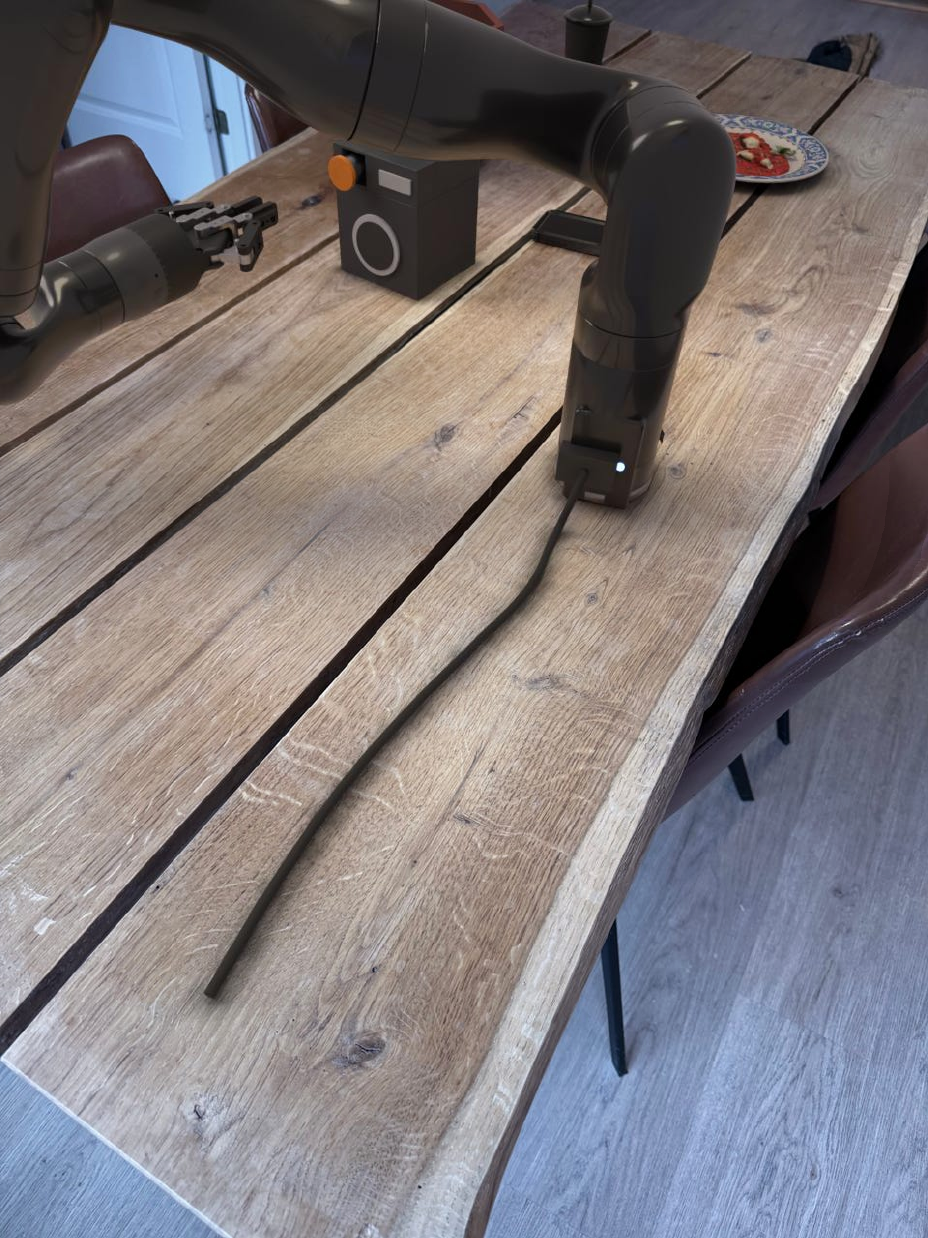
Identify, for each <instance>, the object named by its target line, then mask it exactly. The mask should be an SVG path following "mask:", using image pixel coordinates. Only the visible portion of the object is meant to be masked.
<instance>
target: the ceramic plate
mask: <svg viewBox="0 0 928 1238" xmlns="http://www.w3.org/2000/svg"><path fill="white" fill-rule="evenodd" d="M712 115H713V116H714V117H715V118H716V119H717V120H718V121H719V122H720V123H721V124H722V126H723V127H724V128H725V129H726V131H727V132H728V134H729V136H730V137H731V139H732V142H733V144H734V148H735V152H736V161H737V168H736V180H735V182H746V183H757V184H758V183H759V184H760V183H761V184H777V183H780V184H781V183H788V182H797V181H801V180H804V179H808V178H811V177H814V176H815V175H817V174H819V173H821V172H822V171H824V169H825V168H826V167H828V163H829V160H830V154H829V151H828V150H827V148H826V147H825V146H824V144H822V143H821V142H820V140H818V139H817V138H815V137H814V136H812V135H810V134H808V133H807V132H804V131H803V130H801V129H798V128H796V127H793V126H790V125H787V124H785V123H782V122H778V121H775V120H770V119H765V118H761V117H756V116H755V117H754V116H749V115H739V114H723V113H722V114H721V113H720V114H719V113H715V114H714V113H712Z"/></svg>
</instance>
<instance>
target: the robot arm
mask: <svg viewBox="0 0 928 1238" xmlns="http://www.w3.org/2000/svg"><path fill="white" fill-rule="evenodd" d="M111 26H116V27H119V28H125V29H129V30H133V31H136V32H140V33H144V34H147V35H150V36H154V37H156V38H161V39H164V40H166V41H167V40H168V41H171V42H173V43H176V44H179V45H182V46H183V47H184V46H185V47H187V48H190V49H192V50H194V51H195V52H198V53H201V54H203V55H205V56H206V57H208V58H210V59H211V60H213V61H215V62H216V63H219V64H220V65H221V66H223V67H224V68H226V69H228V70H229V71H230V72H232V74H235V75H236V76H237V77H239V78H240V79H241V80H242V81H244V82H245V83H246V84H248V85H249V86H250V87H251V88H253V89H254V90H256V91H257V92H258V93H260V94H261V95H262V96H263V97H265V98H266V99H267V100H269V101H270V102H272V103H273V104H274V105H276V106H277V107H279V108H280V109H281V110H283V111H285V112H286V113H287V114H289V115H290V116H292V117H293V118H295V119H296V120H298V121H300V122H301V123H303V124H305V125H306V126H308V127H310V128H311V129H314V130H315V131H317V132H319V133H321V134H324V135H326V136H329V137H331V138H334V139H337V140H339V139H340V140H343V141H347V142H350V143H353V144H357V145H360V146H364V147H367V148H371V149H374V150H378V151H381V152H385V153H388V154H389V153H390V154H392V155H396V156H400V157H405V158H410V159H416V160H424V161H462V160H479V159H480V160H508V161H509V160H510V161H514V162H515V161H516V162H520V163H525V164H527V165H532V166H535V167H538V168H541V169H544V170H546V171H549V172H552V173H555V174H557V175H560V176H562V177H565V178H568V179H569V180H571V181H575V182H577V183H579V184H581V185H583V186H585V187H586V188H589V189H591V190H593V191H594V192H595V193H597V194H598V195H599V196H600V197H601V199H602V200H603V202H604V203H605V205H606V207H607V208H606V215H605V220H604V221H605V227H604V233H603V238H602V244H601V249H600V254H599V256H598V258H596V259H595V260H593V261H592V262H591V263H589V265H587V267H586V268H585V269H584V271H583V272H582V276H581V280H580V284H579V290H578V298H577V299H578V300H577V307H576V315H575V321H574V329H573V335H572V340H571V347H570V354H569V362H568V369H567V374H566V375H567V376H566V383H565V390H564V398H563V405H562V411H561V418H560V424H559V425H560V426H559V431H558V432H559V433H558V440H557V441H558V442H557V447H556V453H555V455H554V463H553V473H554V481H557V482H558V483H559V485H560V486H561V487H562V489H561V495H562V496H563V497H568V498H567V500H566V502H565V504H564V506H563V509H562V511H561V512H560V515H559V517H558V519H557V520H556V523H555V525H554V527H553V529H552V531H551V534H550V535H549V538H548V539H547V542H546V545H545V547H544V550H543V552H542V553H541V554H542V555H541V557H540V559H539V561H538V564H537V566H536V567H535V570H534V572H533V573H532V575H531V577H530V578H529V580H528V581H527V583H526V584H525V586H524V587H523V588H522V589H521V591H520V592H519V593H518V595H517V596H516V597H514V599H513V600H512V601H511V603H509V604H508V606H507V607H505V608H504V609H503V611H502V612H500V614H498V615H497V617H495V618H494V619H493V620H492V621H491V622H490V623H489V624H488V625H487V626H486V627H485V628H484V629H483V630H481V632H480V633H478V634H477V635H476V636H475V637H474V639H473V640H471V641H470V642H469V644H467V645H466V647H464V649H462V650H461V651H460V652H459V653H458V654H457V655H456V656H455V657H454V658H453V659H452V660H451V661H450V662H449V663H448V664H447V665H446V666H445V667H444V668H443V669H442V670H441V671H440V672H439V673H438V674H436V675H435V677H434V678H433V679H431V681H430V682H429V683H427V685H426V686H425V687H424V688H423V689H422V690H421V691H420V692H419V693H418V694H417V695H416V696H415V697H413V699H412V700H411V701H410V702H409V703H408V704H407V705H406V706H405V708H404V709H403V710H402V711H401V712H400V713H399V714H398V715H397V716H396V717H395V718H394V719H393V720H392V721H391V722H390V723H389V725H387V727H385V729H384V730H383V731H382V732H381V733H380V734H379V735H378V737H377V738H376V739H375V740H374V741H373V742H372V743H371V744H370V746H369V747H368V748H367V749H366V750H365V751H364V752H363V753H362V755H361V756H360V758H358V760H357V761H356V762H355V763H354V765H353V766H352V767H351V768H350V769H349V770H348V771H347V773H346V774H345V775H344V777H343V778H342V779H341V780H340V781H339V783H338V784H337V786H335V788H334V789H333V791H332V792H331V793H330V794H329V796H328V797H327V799H325V801H324V802H323V804H322V805H321V807H320V808H319V809H318V810H317V812H316V813H315V815H314V816H313V817H312V819H311V820H310V822H309V823H308V824H307V825H306V827H305V829H304V830H303V831H302V833H301V835H300V836H299V837H298V838H297V840H296V842H295V843H294V845H293V846H292V848H291V849H290V851H289V852H288V854H287V855H286V857H285V858H284V860H282V862H281V864H280V866H279V867H278V869H277V870H276V871H275V873H274V875H273V876H272V878H271V879H270V881H269V882H268V884H267V886H266V887H265V889H264V890H263V892H262V893H261V895H260V897H259V898H258V900H257V901H256V903H255V905H254V906H253V908H252V910H251V911H250V913H249V914H248V916H247V918H246V919H245V921H244V923H243V925H242V926H241V928H240V930H239V931H238V933H237V935H236V937H235V938H234V940H233V941H232V943H231V945H230V947H229V949H228V950H227V952H226V954H225V955H224V957H223V959H222V960H221V962H220V964H219V966H218V967H217V969H216V970H215V972H214V974H213V975H212V977H211V979H210V980H209V982H208V984H207V985H206V987H205V989H204V991H203V995H204V996H206V997H207V998H209V999H211V1000H215V999H216V998H217V996H218V994H219V993H220V990H221V989H222V988H223V985H224V984H225V982H226V980H227V978H228V977H229V975H230V974H231V971H232V970H233V968H234V966H235V965H236V963H237V961H238V959H239V958H240V956H241V954H242V952H243V951H244V950H245V947H246V946H247V944H248V942H249V941H250V939H251V937H252V935H253V934H254V932H255V930H256V928H257V927H258V925H259V923H260V921H261V920H262V918H263V916H264V915H265V913H266V912H267V910H268V909H269V907H270V905H271V903H272V902H273V900H274V898H275V897H276V895H277V894H278V892H279V891H280V889H281V888H282V886H283V884H284V882H285V881H286V879H288V876H289V875H290V873H291V872H292V870H293V869H294V867H295V865H296V864H297V862H298V861H299V859H300V858H301V856H302V855H303V854H304V852H305V850H306V849H307V848H308V847H309V846H308V845H310V844H311V842H312V840H313V839H314V837H315V836H316V835H317V832H318V831H319V830H320V829H321V827H322V825H323V824H324V823H325V821H326V820H327V819H328V817H329V816H330V814H331V813H332V812H333V810H334V809H335V808H336V806H337V805H338V804H339V802H340V801H341V800H342V798H343V797H344V796H345V794H346V793H347V792H348V791H349V789H350V788H351V787H352V785H353V784H354V783H355V781H356V780H357V779H358V778H359V777H360V775H361V774H362V773H363V771H364V770H365V769H366V768H367V767H368V765H370V763H371V762H372V760H374V758H375V757H376V756H377V755H378V754H379V753H380V752H381V750H382V749H383V748H384V747H385V746H386V744H388V742H389V741H390V740H391V739H392V738H393V737H394V736H395V735H396V734H397V732H398V731H399V730H400V729H401V728H402V727H403V726H404V725H405V724H406V723H407V722H408V720H409V719H410V718H411V717H413V715H414V714H415V712H417V711H418V710H419V709H420V708H421V706H422V705H423V704H424V703H425V702H426V701H427V700H428V699H429V698H430V697H432V695H433V694H434V693H435V692H436V691H437V690H438V689H439V688H440V687H441V686H442V685H443V684H444V683H445V682H446V681H447V680H448V679H449V678H450V677H451V676H452V675H453V674H454V673H455V672H456V671H457V670H458V669H459V668H460V667H462V665H463V664H464V663H465V662H466V661H468V659H470V657H471V656H472V655H473V654H474V653H475V652H476V651H477V650H478V649H479V648H481V646H483V644H484V643H485V642H486V641H487V640H488V639H489V638H490V637H491V636H492V635H494V633H495V632H497V630H499V629H500V628H501V626H503V625H504V624H505V623H506V622H507V621H508V620H509V619H510V618H511V617H512V616H513V615H514V614H515V613H516V612H517V611H518V610H519V608H521V606H522V605H523V604H524V603H525V601H527V599H528V598H529V597H530V596H531V594H532V592H533V591H534V589H535V588H536V587H537V585H538V584H539V582H540V580H541V579H542V577H543V575H544V574H545V571H546V570H547V567H548V565H549V561H550V559H551V557H552V553H553V551H554V549H555V547H556V544H557V543H558V540H559V538H560V536H561V533H562V532H563V530H564V528H565V525H566V524H567V521H568V520H569V518H570V515H571V514H572V511H573V509H574V507H575V505H576V503H577V501H578V500H582V501H587V502H592V503H597V504H602V505H606V506H611V507H616V508H621V509H627V507H628V504H629V503H630V501H633V500H635V499H637V498H639V497H641V496H642V495H643V494H645V492H646V491H647V490H648V489H649V487H650V485H651V482H652V478H653V473H654V466H655V465H654V464H655V461H656V456H657V452H658V447H659V443H660V444H663V442H664V438H665V435H666V433H665V431H664V429H663V427H664V423H665V418H666V415H667V410H668V406H669V403H670V398H671V394H672V390H673V385H674V381H675V377H676V373H677V369H678V366H679V361H680V356H681V353H682V349H683V345H684V341H685V336H686V333H687V328H688V325H689V320H690V316H691V313H692V309H693V305H694V304H695V302H696V301H697V300H698V298H699V297H700V296H701V295H702V293H703V292H704V289H705V288H706V286H707V284H708V281H709V279H710V276H711V273H712V269H713V267H714V263H715V259H716V256H717V253H718V249H719V246H720V244H721V243H720V242H721V240H722V237H723V233H724V229H725V226H726V223H727V219H728V216H729V212H730V208H731V205H732V202H733V201H732V200H733V196H734V192H735V186H736V168H737V161H736V152H735V148H734V144H733V142H732V139H731V137H730V136H729V134H728V132H727V131H726V129H725V128H724V127H723V126H722V124H721V123H720V122H719V121H718V120H717V119H716V118H715V117H714V116H713V115H712V114H713V113H712V112H711V111H710V110H709V109H708V108H707V107H706V106H705V104H704V103H703V102H701V100H700V99H698V97H697V96H696V95H694V94H693V92H691V91H690V90H688V89H687V88H686V87H684V86H682V85H680V84H678V83H676V82H674V81H672V80H668V79H666V78H662V77H657V76H652V75H648V74H644V73H643V74H642V73H638V72H632V71H628V70H623V69H617V68H612V67H608V66H603V65H601V66H599V65H594V64H590V63H585V62H581V61H576V60H572V59H569V58H565V56H561V55H557V54H554V53H552V52H549V51H546V50H544V49H542V48H539V47H537V46H534V45H532V44H530V43H528V42H526V41H524V40H522V39H519V38H517V37H515V36H513V35H512V34H509V33H507V32H505V31H504V32H502V31H500V30H498V29H495V28H493V27H491V26H488V25H486V24H484V23H481V22H479V21H476V20H474V19H471V18H469V17H467V16H464V15H462V14H459V13H457V12H454V11H452V10H449V9H447V8H444V7H442V6H440V5H437V4H435V3H433V2H430V1H427V0H0V407H4V406H10V405H11V406H12V405H15V404H17V403H21V402H22V401H24V400H26V399H27V398H29V397H30V396H32V395H33V393H35V392H36V391H37V390H38V389H39V388H40V387H41V386H42V384H43V383H44V382H45V381H46V380H47V379H48V378H49V377H50V375H52V374H53V373H54V372H55V371H56V369H58V368H59V367H60V366H61V365H62V364H63V363H64V362H65V361H66V360H67V359H69V358H70V357H71V356H72V355H73V354H74V353H75V352H76V351H78V350H79V349H80V348H81V347H82V346H84V345H85V344H86V343H87V342H89V341H92V340H93V339H95V338H97V337H99V336H101V335H103V334H105V333H107V332H109V331H111V330H113V329H115V328H117V327H120V326H121V325H124V324H126V323H129V322H133V321H136V320H138V319H142V318H143V317H145V316H148V315H150V314H151V313H153V312H155V311H157V310H158V309H161V308H163V307H165V306H166V305H167V306H168V305H169V304H171V303H173V302H175V301H177V300H179V299H181V298H183V297H184V296H187V295H188V294H191V293H192V292H194V291H195V290H196V289H197V287H198V286H199V285H200V282H201V279H202V277H203V275H204V274H205V273H206V272H209V271H212V270H217V269H220V268H222V267H224V265H225V264H226V263H227V264H238V265H239V271H240V272H242V273H249V272H252V271H253V270H254V268H255V265H256V264H257V261H258V260H259V258H260V256H261V253H262V252H263V250H264V247H265V244H264V243H265V242H264V236H263V232H264V231H266V230H268V229H270V228H272V227H274V226H276V225H278V223H279V210H278V205H277V203H276V202H274V201H271V200H268V201H266V202H263V199H262V197H260V196H258V195H255V194H254V195H252V196H249V197H247V198H245V199H242V200H240V201H238V202H236V203H234V204H232V205H230V204H228V203H222V204H219V205H217V206H215V202H214V201H211V200H204V201H198V202H190V203H183V204H175V205H169V206H168V205H167V206H161V207H156V208H154V209H153V212H154V213H151V214H149V215H146V216H143V217H142V218H141V217H140V218H139V219H137V220H135V221H132V222H130V223H128V224H125V225H123V226H120V227H118V228H116V229H114V230H111V231H109V232H107V233H105V234H102V235H100V236H98V237H96V238H94V239H92V240H91V241H89V242H88V243H86V244H85V245H83V246H82V247H79V248H78V249H76V250H74V251H72V252H70V253H66V254H65V255H63V256H60V257H58V258H56V259H53V260H51V261H48V262H46V258H47V257H46V256H47V251H48V246H49V241H50V234H51V226H52V218H53V217H52V216H53V215H52V214H53V192H54V191H53V190H54V174H55V169H56V163H57V158H58V153H59V149H60V148H61V147H60V146H61V142H62V140H63V139H62V138H63V136H64V133H65V129H66V127H67V124H68V122H69V119H70V116H71V114H72V112H73V109H74V107H75V104H76V102H77V100H78V98H79V95H80V93H81V90H82V88H83V86H84V84H85V82H86V80H87V78H88V75H89V72H90V70H91V68H92V66H93V65H94V64H93V63H94V61H95V59H96V58H97V55H98V53H99V51H100V50H101V48H102V47H103V45H104V44H105V42H106V39H107V38H108V34H109V32H110V28H111ZM240 229H241V231H242V233H241V234H239V230H240ZM45 262H46V263H45ZM27 311H28V312H29V314H30V316H31V318H32V320H33V321H34V323H35V326H33V327H29V328H26V327H25V326H24V325H22V323H20V321H19V320H17V318H15V317H16V316H19V315H22V314H23V313H25V312H27Z"/></svg>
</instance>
